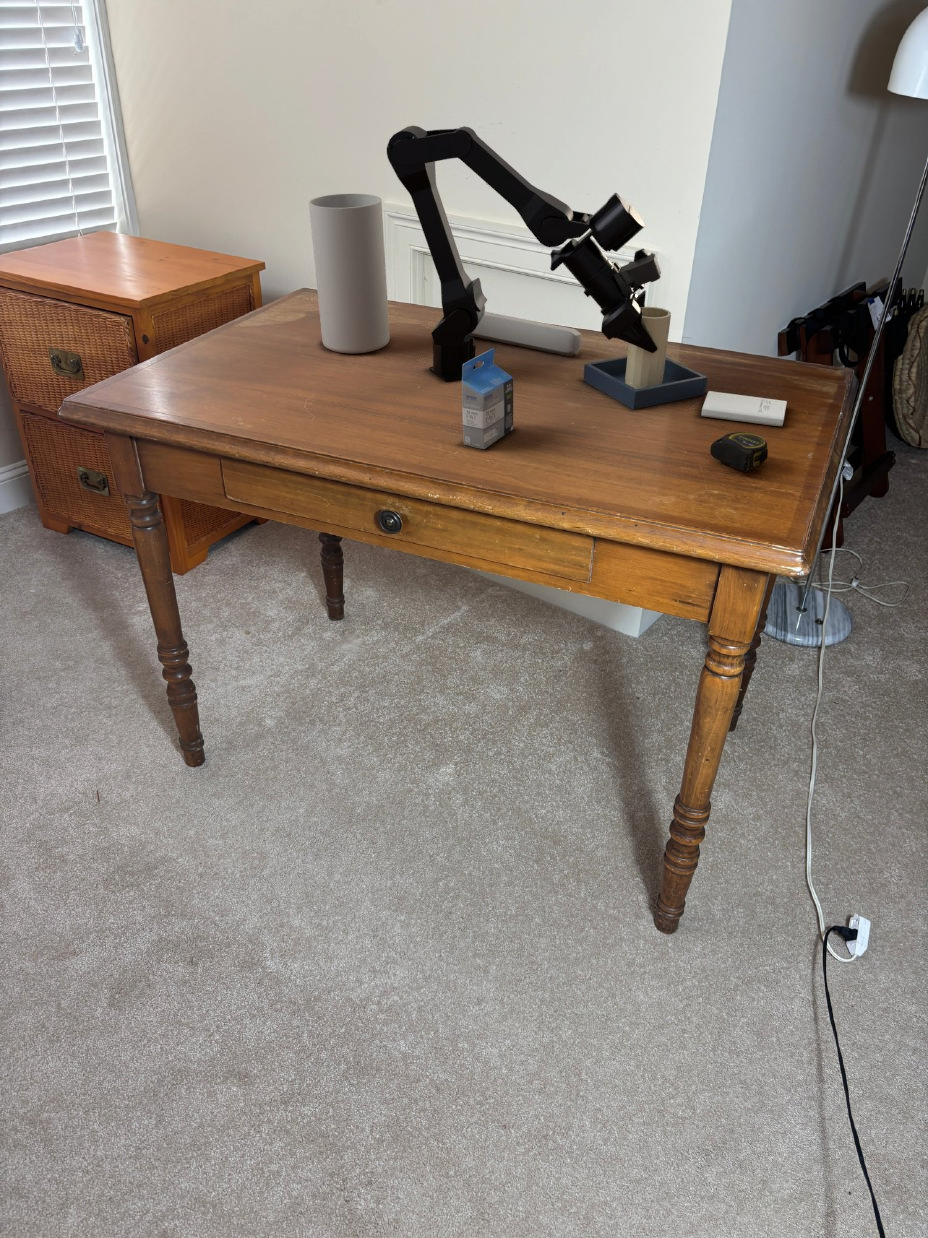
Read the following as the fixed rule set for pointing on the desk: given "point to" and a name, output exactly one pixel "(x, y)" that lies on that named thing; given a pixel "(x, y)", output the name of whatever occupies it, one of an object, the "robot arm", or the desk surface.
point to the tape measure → (740, 450)
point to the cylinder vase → (350, 271)
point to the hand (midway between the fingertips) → (656, 344)
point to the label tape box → (486, 401)
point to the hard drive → (744, 408)
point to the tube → (529, 334)
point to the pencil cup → (644, 364)
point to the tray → (674, 387)
